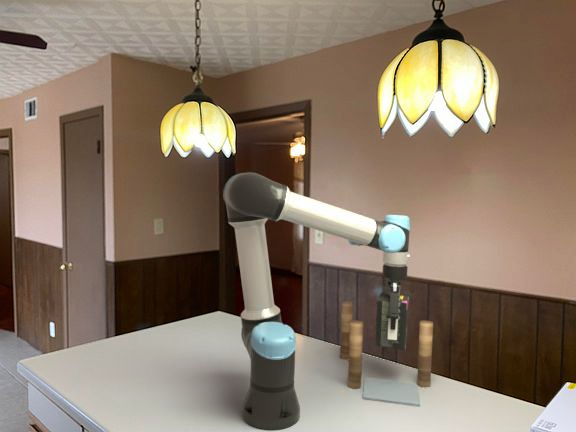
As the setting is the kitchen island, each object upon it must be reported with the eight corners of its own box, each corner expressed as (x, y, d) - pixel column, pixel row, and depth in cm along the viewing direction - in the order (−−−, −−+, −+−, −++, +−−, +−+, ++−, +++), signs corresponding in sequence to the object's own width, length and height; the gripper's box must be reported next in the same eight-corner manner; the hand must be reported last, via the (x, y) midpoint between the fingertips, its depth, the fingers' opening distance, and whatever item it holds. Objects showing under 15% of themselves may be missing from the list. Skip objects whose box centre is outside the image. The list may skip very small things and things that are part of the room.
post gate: (350, 360, 158) (352, 304, 157) (339, 358, 159) (341, 303, 157) (351, 356, 162) (353, 302, 160) (340, 354, 162) (342, 301, 161)
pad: (420, 406, 125) (420, 404, 125) (362, 399, 128) (362, 397, 128) (417, 385, 138) (417, 383, 138) (365, 379, 142) (365, 377, 142)
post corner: (360, 389, 134) (362, 324, 133) (347, 388, 135) (349, 323, 134) (361, 384, 138) (363, 321, 137) (348, 382, 139) (350, 320, 138)
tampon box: (405, 351, 133) (407, 303, 132) (374, 346, 136) (376, 299, 135) (407, 339, 143) (409, 295, 143) (378, 335, 146) (380, 292, 145)
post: (430, 388, 136) (433, 324, 135) (417, 386, 137) (420, 323, 136) (429, 383, 140) (432, 321, 139) (416, 381, 141) (419, 319, 140)
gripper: (409, 271, 126) (405, 347, 127) (405, 259, 149) (402, 323, 150) (383, 269, 127) (379, 344, 129) (382, 258, 151) (379, 321, 152)
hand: (391, 333), depth 139 cm, fingers closed on tampon box, 11 cm apart
